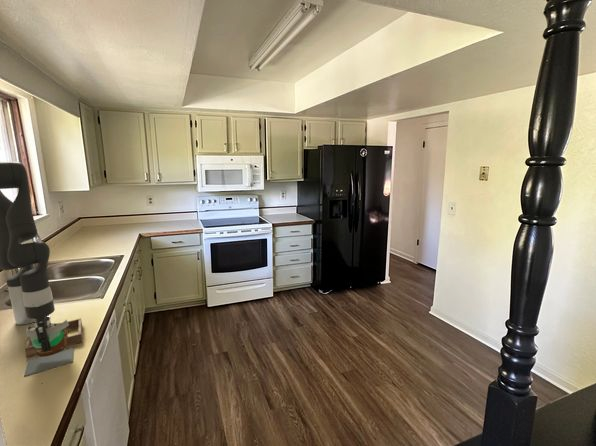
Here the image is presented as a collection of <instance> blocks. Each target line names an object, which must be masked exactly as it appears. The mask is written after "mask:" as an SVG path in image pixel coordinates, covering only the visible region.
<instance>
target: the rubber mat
mask: <svg viewBox="0 0 596 446" xmlns="http://www.w3.org/2000/svg"><path fill="white" fill-rule="evenodd" d="M73 362H74V347H73V346H72V347H69V348H68V347H67V348H65V349H64V350H62V351H61V352H58V353H56V354H53V355H50V356H44V357H40V356H36V357H34V358H28V360H27V363H26V367H25V372H24V376H23V377H24V378H25V377H28V376H31V375H35V374H38V373H42V372H44V371H45V372H46V371H48V370H51V369H54V368H58V367H62V366H64V365H65V366H66V365H67V364H72V363H73Z"/></svg>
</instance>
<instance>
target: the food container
mask: <svg viewBox="0 0 596 446" xmlns="http://www.w3.org/2000/svg"><path fill="white" fill-rule="evenodd" d="M68 321H69V320H67V319H65V320H64V321H62V322H58V323H55V322H54V323H51V324H49V326H50V328H48V329H46V331H47V335H48V336H49V338H50V339H49V342H50V347H51V349H50V350H49V351H46V352H43V351H42V347H41V343H39V342H38V338H37V334H36V331H35V329H36V327H35V326H30V325H29V324H27V327H26V330H25V335H26V336H27V337H28V336H29V337H30V339H31V342H32V344H33V345H32V346H33V347H34V350H35V353H36V355H35V356H36V357H44V356H50V355H53V354H56V353H58V352H61V351H62V350H65V349H68V347H69V346H68V336H69V335H68V332H69V331H68V330H67V326H68V325H69V323H68ZM41 338H45V336H43V337H41Z"/></svg>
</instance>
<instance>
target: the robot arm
mask: <svg viewBox="0 0 596 446" xmlns="http://www.w3.org/2000/svg"><path fill="white" fill-rule="evenodd" d="M3 189H17V190H18V191H17V194H16V197H15V198H14V200H13V201H12V200H11V199H9V198H8V197H7V196H6V195H5V194H4V193H3V192H2V190H3ZM32 210H33V209H32V199H31V189H30V181H29V177H28V171H27V168H26V167H25V165H24V164H23V163H22V162H19V161H0V270H1V271H9V270H16V269H20V268H21V270H19V271H17V273H15V274H13V275H11V276H9V277H8V278H7V279H6V285H7V289H8V290H7V291H8V294H9V298H10V303H11V308H12V314H13V317H14V322H15V324H16V325H18V326H19V325H20V326H23V325H29V324H32V323H34V327H36V329H35V331H36V334H37V338H38V342H39V343H41V347H42V351H43V352H46V351H49V350H50V349H51V347H50V342H49V339H50V338H49V336H48V335H47V331H46V329H48V328H50V326H49V324H52V321H51V316H50V315H52V314H53V313H54V312H55V310H56V309H55V304H54V297H53V292H52V289H51V287H50V282H49V277H48V276H49V275H48V265H49V261H50V260H49V259H50V254H51V250H50V246H49V245H48V244H47V243H46V242H45V241H33V242H28V241H31V240H33V239H34V238H36V237H37V236H38V229H37V226H36V222H35V218H34V214H33V211H32ZM25 242H27V243H25ZM35 264H37V265H36V266H35V267H34V265H35ZM43 336H45V338H41V337H43Z"/></svg>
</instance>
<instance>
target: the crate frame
mask: <svg viewBox="0 0 596 446" xmlns="http://www.w3.org/2000/svg"><path fill="white" fill-rule="evenodd" d="M67 321H68V323H69V325H68V326H67V331H69V330H70V331H71V330H74V329H78V333H75V334H72V335H68V347H70V346H74V345H77V344H80V343H81V344H82V343H83V323H82V318H76V319H72V320H67ZM24 352H25V356H26V358H30V357H35V356H37V355H36V353H35V350H34V347H33V344H32V342H31V339H30V337H29V336H27V340H26V344H25V346H24Z"/></svg>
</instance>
